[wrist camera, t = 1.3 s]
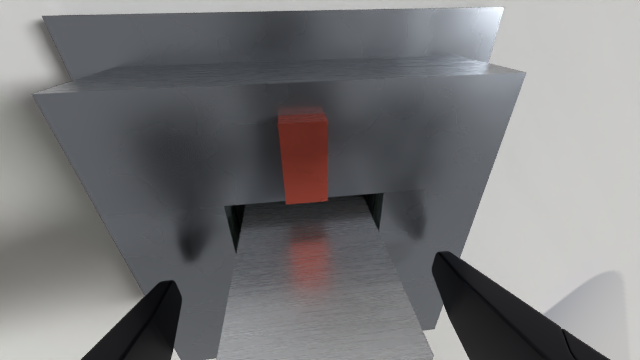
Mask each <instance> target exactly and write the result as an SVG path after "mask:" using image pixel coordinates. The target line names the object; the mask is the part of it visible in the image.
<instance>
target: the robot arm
mask: <svg viewBox="0 0 640 360" xmlns="http://www.w3.org/2000/svg"><path fill="white" fill-rule="evenodd" d="M432 274H433V277H434V280H435V283H436V285H437V288H438V291H439V293H440V296H441V299H442V301H443V304H444V306H445V309H446V312H447V314H448V317H449V319H450V321H451V323H452V325H453V327H454V329H455V331H456V333H457V335H458V337H459V339H460V341H461V343H462V345H463V347H464V349H465V351H466V353H467V355H468V357H469V359H470V360H610V359H608V358H607V357H605V356H604V355H602V354H600V353H599V352H597V351H596V350H594V349H593V348H591V347H590V346H588V345H587V344H585V343H584V342H582V341H581V340H579V339H577V338H576V337H575V336H573V335H572V334H570V333H569V332H568V331H566V330H565V329H561V327H560V326H559V325H557V324H556V323H554V322H553V321H551V320H550V319H548V318H547V317H545V316H544V315H542V314H541V313H540V312H538V311H537V310H535V309H534V308H532V307H531V306H529V305H528V304H526V303H525V302H523V301H522V300H520V299H519V298H518V297H516V296H515V295H513V294H512V293H510V292H509V291H507V290H506V289H504V288H503V287H501V286H500V285H498V284H497V283H496V282H494V281H493V280H491V279H490V278H488V277H487V276H485V275H484V274H482V273H481V272H479V271H478V270H476V269H475V268H474V267H472V266H471V265H469V264H468V263H466V262H465V261H463V260H462V259H460V258H459V257H457V256H456V255H454V254H453V253H451V252H450V251H439V252H437V253H436V254H435V258H434V261H433V265H432ZM181 305H182V296H181V293H180V291H179V289H178V286H177V284H176V282H175V281H174V280H167V281H161V282H159V283H158V284H157V285H156V286H155V287H154V288H153V289H152V290H150V291H149V292H148V293H147V294H146V295H145V296H144V297H143V298H142V299H141V300H140V301H139V302H138V303H137V304H136V305H135V306H134V307H133V308H132V309H131V310H130V311H129V312H128V313H127V314H126V315H125V316H124V317H123V318H122V319H121V320H120V321H119V322H118V323H117V324H116V325H115V326H114V327H113V328H112V329H111V330H110V331H109V332H108V333H107V334H106V335H105V336H104V337H103V338H102V339H101V340H100V341H99V342H98V343H97V344H96V345H95V346H94V347H93V348H92V349H91V350H90V351H89V352H88V353H87V354H86V355H85V356H84V357H83V358H82V359H81V360H171V356H172V353H173V348H174V343H175V338H176V332H177V327H178V322H179V316H180V311H181Z"/></svg>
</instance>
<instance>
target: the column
mask: <svg viewBox="0 0 640 360" xmlns="http://www.w3.org/2000/svg"><path fill="white" fill-rule="evenodd" d="M433 357H434V355H433V353H432V351H431V348H430V346H429V344H428V342H427V339H426V337H425V335H424V333H423V330H422V328H421V326H420V324H419V321H418V319H417V317H416V315H415V312H414V310H413V308H412V306H411V303H410V301H409V299H408V297H407V294H406V292H405V290H404V288H403V285H402V283H401V281H400V279H399V276H398V274H397V272H396V270H395V267H394V265H393V263H392V261H391V258H390V256H389V254H388V252H387V249H386V247H385V245H384V242H383V240H382V238H381V236H380V233H379V231H378V229H377V227H376V224H375V222H374V220H373V218H372V215H371V213H370V211H369V209H368V206H367V204H366V202H365V200H364V197H363V195H350V196H338V197H328V201H322V202H310V203H298V204H287V205H286V201H278V202H266V203H254V204H246V205H245V211H244V216H243V221H242V227H241V232H240V237H239V243H238V248H237V253H236V259H235V264H234V269H233V275H232V280H231V285H230V291H229V296H228V301H227V306H226V312H225V317H224V322H223V328H222V333H221V338H220V344H219V349H218V354H217V360H432V359H433Z"/></svg>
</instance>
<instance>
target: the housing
mask: <svg viewBox="0 0 640 360" xmlns="http://www.w3.org/2000/svg"><path fill="white" fill-rule="evenodd" d="M503 9H504V7H477V8H425V9H373V10H321V11H269V12H217V13H165V14H113V15H61V16H42V18H43V20H44V22H45V24H46V26H47V28H48V30H49V32H50V34H51V37H52V39H53V41H54V43H55V45H56V47H57V49H58V51H59V54H60V56H61V58H62V60H63V62H64V64H65V66H66V68H67V70H68V73H69V75H70V77H71V79H72V81H71V82H67V83H64V84H61V85H58V86H55V87H52V88H49V89H46V90H43V91H40V92H37V93H33V94H32V95H33V97H34V99H35V101H36V103H37V104H38V106H39V108H40V110H41V112H42V113H43V115H44V117H45V119H46V120H47V122H48V124H49V126H50V128H51V129H52V131H53V133H54V135H55V136H56V138H57V140H58V142H59V144H60V145H61V147H62V149H63V151H64V153H65V154H66V156H67V158H68V160H69V161H70V163H71V165H72V167H73V169H74V170H75V172H76V174H77V176H78V177H79V179H80V181H81V183H82V185H83V186H84V188H85V190H86V192H87V193H88V195H89V197H90V199H91V201H92V202H93V204H94V206H95V208H96V210H97V211H98V213H99V215H100V217H101V218H102V220H103V222H104V224H105V226H106V227H107V229H108V231H109V233H110V234H111V236H112V238H113V240H114V242H115V243H116V245H117V247H118V249H119V251H120V252H121V254H122V256H123V258H124V259H125V261H126V263H127V265H128V267H129V268H130V270H131V272H132V274H133V275H134V277H135V279H136V281H137V283H138V284H139V286H140V288H141V290H142V291H143V293H144V295H146V294H147V293H148V292H149V291H150V290H152V289H153V288H154V287H155V286H156V285H157V284H158V283H159V282H161V281H167V280H174V281H175V282H176V284H177V286H178V289H179V291H180V293H181V296H182V305H181V311H180V316H179V322H178V327H177V332H176V338H175V343H174V349H175V350H176V352H177V354H178V356H179V357H180V359H181V360H206V359H214V358H217V354H218V349H219V344H220V338H221V333H222V328H223V322H224V317H225V312H226V306H227V301H228V296H229V291H230V285H231V280H232V275H233V269H234V264H235V259H236V253H237V248H238V243H239V237H240V232H241V227H242V221H243V216H244V211H245V205H246V204H254V203H266V202H278V201H286V205H287V204H298V203H310V202H322V201H328V197H338V196H350V195H363V197H364V200H365V202H366V204H367V206H368V209H369V211H370V213H371V215H372V218H373V220H374V222H375V224H376V227H377V229H378V231H379V233H380V236H381V238H382V240H383V242H384V245H385V247H386V249H387V252H388V254H389V256H390V258H391V261H392V263H393V265H394V267H395V270H396V272H397V274H398V276H399V279H400V281H401V283H402V285H403V288H404V290H405V292H406V294H407V297H408V299H409V301H410V303H411V306H412V308H413V310H414V312H415V315H416V317H417V319H418V321H419V324H420V326H421V328H422V330H431V329H435V326H436V323H437V320H438V318H439V315H440V312H441V309H442V306H443V301H442V299H441V296H440V293H439V291H438V288H437V285H436V283H435V280H434V277H433V274H432V265H433V261H434V258H435V254H436V253H437V252H439V251H450V252H451V253H453V254H454V255H456V256H457V257H459V258H460V256H461V253H462V251H463V248H464V245H465V242H466V239H467V237H468V234H469V231H470V228H471V226H472V223H473V220H474V217H475V214H476V212H477V209H478V206H479V203H480V200H481V198H482V195H483V192H484V189H485V187H486V184H487V181H488V178H489V175H490V173H491V170H492V167H493V164H494V161H495V159H496V156H497V153H498V150H499V147H500V145H501V142H502V139H503V136H504V134H505V131H506V128H507V125H508V122H509V120H510V117H511V114H512V111H513V108H514V106H515V103H516V100H517V97H518V95H519V92H520V89H521V86H522V83H523V81H524V78H525V75H526V72H522V71H518V70H514V69H510V68H506V67H502V66H497V65H493V64H489V63H488V62H489V59H490V55H491V51H492V48H493V44H494V41H495V37H496V34H497V30H498V27H499V23H500V20H501V16H502V13H503Z"/></svg>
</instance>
